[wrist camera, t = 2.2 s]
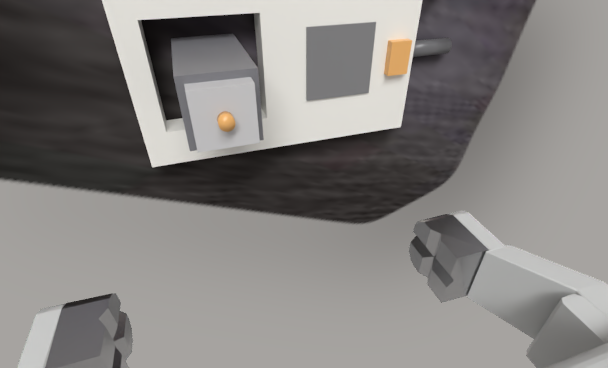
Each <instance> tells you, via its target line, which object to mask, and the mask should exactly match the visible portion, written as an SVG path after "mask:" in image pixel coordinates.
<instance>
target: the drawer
mask: <svg viewBox="0 0 608 368" xmlns="http://www.w3.org/2000/svg"><path fill="white" fill-rule="evenodd" d="M171 48H172V63H173V77H174V81H175V86H176V90H177V95H178V99H179V104H180V109H181V113H182V118H183V122H184V127H185V131H186V136H187V140H188V145H189V149H190V151H195V150H197V151H198V152H205V151H211V150H218V149H224V148H230V147H237V146H243V145H250V144H256V143H260V140H264V138H263V126H262V113H261V100H260V88H259V75H258V67H257V66H256V65H255V63H254V62H253V60H252V59H251V58H250V56H249V55H248V54H247V52H246V51H245V49H244V48H243V47H242V45H241V44H240V42H239V41H238V40H237V38H236V37H235V35H234V34H220V35H206V36H193V37H179V38H171Z"/></svg>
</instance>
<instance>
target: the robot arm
mask: <svg viewBox="0 0 608 368" xmlns="http://www.w3.org/2000/svg"><path fill="white" fill-rule="evenodd" d="M414 233H415V234H416V237H415V238H414V239H413V240H412V241H411V244H410V249H409V252H410V257H411V261H412V263H413V265H414V267H415V268H416V270H417V271H418V272H419V273H420V274H423V275H424V276H426V277H428V286H429V287H430V288H431V290H432V291H433V292H434V294H435V295H436V296H437V298H438V299H439V300H440V302H445V301H448V300H452V299H456V298H460V297H463V296H467V298H469V299H471V300H472V301H474V302H475V303H477V304H479V305H480V306H482V307H484V308H485V309H487V310H488V311H490V312H492V313H493V314H495V315H496V316H498V317H500V318H501V319H503V320H504V321H506V322H508V323H509V324H511V325H512V326H514V327H516V328H517V329H519V330H520V331H522V332H524V333H525V334H527V335H529V336H530V337H532V338H533V339H534V340H533V342H532V343H531V345H530V346H529V348H528V349H527V355H526V356H527V357H528V358H529V359H530V361H531V362H532V363H533V364H534V365H535V366H536V368H608V284H606V283H605V282H602V281H600V280H597V279H595V278H592V277H590V276H587V275H585V274H582V273H580V272H577V271H575V270H572V269H569V268H567V267H565V266H562V265H559V264H557V263H554V262H552V261H549V260H547V259H544V258H542V257H539V256H536V255H534V254H532V253H529V252H526V251H524V250H521V249H519V248H516V247H514V246H511V245H508V246H505V245H504V244H503V243H501V242H500V241H499V240H498V239H497V238H496V237H495V236H494V235H493V234H492V233H491V232H489V231H488V230H487V229H486V228H485V227H484V226H483V225H482V224H481V223H479V222H478V221H477V220H476V219H475V218H474V217H473V216H471V214H470V213H468V212H466V211H464V210H462V211H458V212H454V213H450V214H445V215H441V216H437V217H433V218H429V219H425V220H421V221H418V222H417V223H416V224H415V227H414ZM120 304H121V303H120V300H119V298H118V297H117V295H116V294H108V295H103V296H98V297H94V298H89V299H85V300H79V301H75V302H70V303H66V304H62V305H58V306H53V307H48V308H44V309H41V310H40V311H39V312H38V313H37V315H36V316H35V318H34V321H33V323H32V326H31V329H30V332H29V335H28V338H27V340H26V343H25V346H24V349H23V352H22V355H21V357H20V360H19V363H18V366H17V368H129V367H128V365H127V363H126V359H127V358H128V357H129V355H130V354H131V352H132V342H133V341H132V328H131V325H130V321H129V318H128V316H127V314H126V313H124V312H121V311H120Z"/></svg>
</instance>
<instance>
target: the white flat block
mask: <svg viewBox="0 0 608 368" xmlns="http://www.w3.org/2000/svg"><path fill="white" fill-rule="evenodd" d="M102 2H103V5H104V9H105V12H106V15H107V19H108V22H109V25H110V29H111V32H112V35H113V39H114V42H115V45H116V49H117V52H118V55H119V59H120V62H121V65H122V68H123V72H124V75H125V78H126V82H127V85H128V88H129V92H130V95H131V98H132V102H133V105H134V108H135V112H136V115H137V118H138V122H139V125H140V128H141V131H142V135H143V138H144V141H145V145H146V148H147V151H148V155H149V158H150V161H151V165H152V167H157V166H163V165H169V164H176V163H182V162H188V161H194V160H200V159H207V158H213V157H219V156H225V155H231V154H237V153H244V152H250V151H256V150H262V149H268V148H274V147H281V146H287V145H293V144H299V143H305V142H311V141H318V140H324V139H330V138H336V137H342V136H348V135H355V134H361V133H367V132H373V131H379V130H386V129H392V128H398V127H401V123H402V117H403V111H404V105H405V99H406V93H407V88H408V82H409V76H410V70H411V64H412V58H413V57H418V56H427V55H437V54H446V53H448V52H449V51H450V49H451V40H450V39H449V38H438V39H427V40H417V41H416V35H417V29H418V23H419V18H420V12H421V6H422V0H102ZM247 13H254V23H255V36H256V48H257V61H258V74H259V86H260V99H261V113H262V126H263V138H264V140H260V143H256V144H250V145H243V146H237V147H230V148H224V149H218V150H211V151H205V152H198V151H197V150H195V151H190V149H189V145H188V140H187V136H186V131H185V127H184V122H183V118H180V119H173V120H166V118H165V114H164V110H163V106H162V102H161V98H160V94H159V90H158V86H157V82H156V78H155V74H154V70H153V66H152V62H151V58H150V54H149V50H148V46H147V42H146V38H145V34H144V30H143V26H142V22H141V20H149V19H166V18H182V17H198V16H215V15H231V14H247Z"/></svg>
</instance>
